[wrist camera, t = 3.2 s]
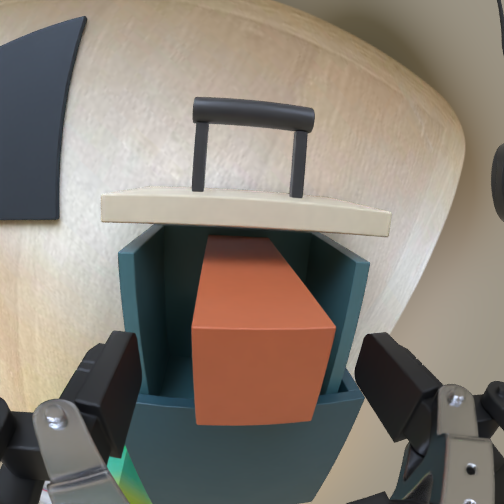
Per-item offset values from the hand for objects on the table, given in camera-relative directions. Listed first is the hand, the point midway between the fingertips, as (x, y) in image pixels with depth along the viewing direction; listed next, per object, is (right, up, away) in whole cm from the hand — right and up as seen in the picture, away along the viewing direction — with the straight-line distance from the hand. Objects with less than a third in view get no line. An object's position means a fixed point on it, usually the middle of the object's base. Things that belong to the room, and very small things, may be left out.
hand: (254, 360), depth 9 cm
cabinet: (-2, -9, +15) cm, 18 cm away
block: (-1, +3, +10) cm, 11 cm away
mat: (-21, +15, +7) cm, 27 cm away
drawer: (-1, +4, +11) cm, 12 cm away
